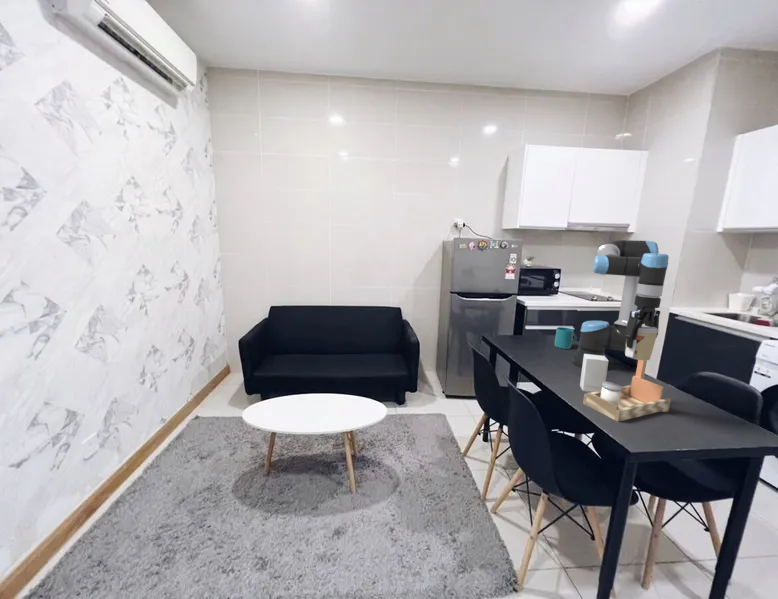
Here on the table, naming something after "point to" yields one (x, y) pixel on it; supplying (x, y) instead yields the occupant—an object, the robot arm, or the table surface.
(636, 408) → the wooden tray
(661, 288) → the robot arm
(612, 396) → the jar
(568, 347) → the cup
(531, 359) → the table surface
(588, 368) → the skincare box
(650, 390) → the pusher
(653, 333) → the coffee cup
